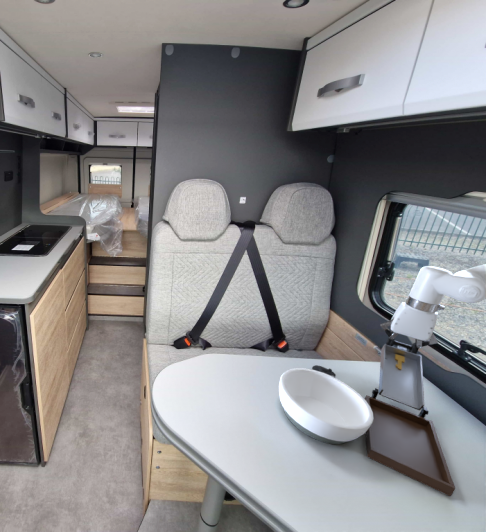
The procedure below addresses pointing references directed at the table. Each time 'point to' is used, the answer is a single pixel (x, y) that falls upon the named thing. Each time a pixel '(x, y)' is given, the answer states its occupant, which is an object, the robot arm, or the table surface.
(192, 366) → the table surface
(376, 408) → the tray
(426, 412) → the stand
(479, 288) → the robot arm
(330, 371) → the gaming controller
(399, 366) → the key
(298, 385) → the bowl
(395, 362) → the shallow grey bin
